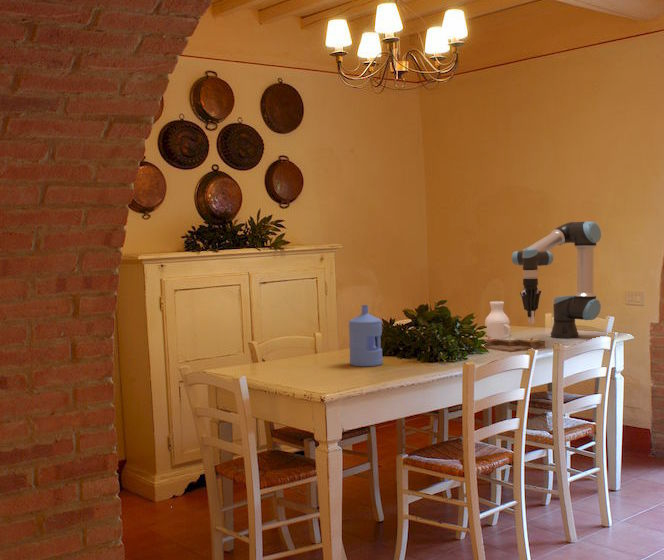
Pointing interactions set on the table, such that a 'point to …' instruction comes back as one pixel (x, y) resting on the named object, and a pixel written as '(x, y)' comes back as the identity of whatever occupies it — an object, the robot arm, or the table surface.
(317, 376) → the table surface
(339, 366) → the table surface
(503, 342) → the board
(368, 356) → the water jug
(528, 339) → the tile three
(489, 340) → the tile two
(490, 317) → the vase
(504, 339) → the tile one
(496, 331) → the mug
